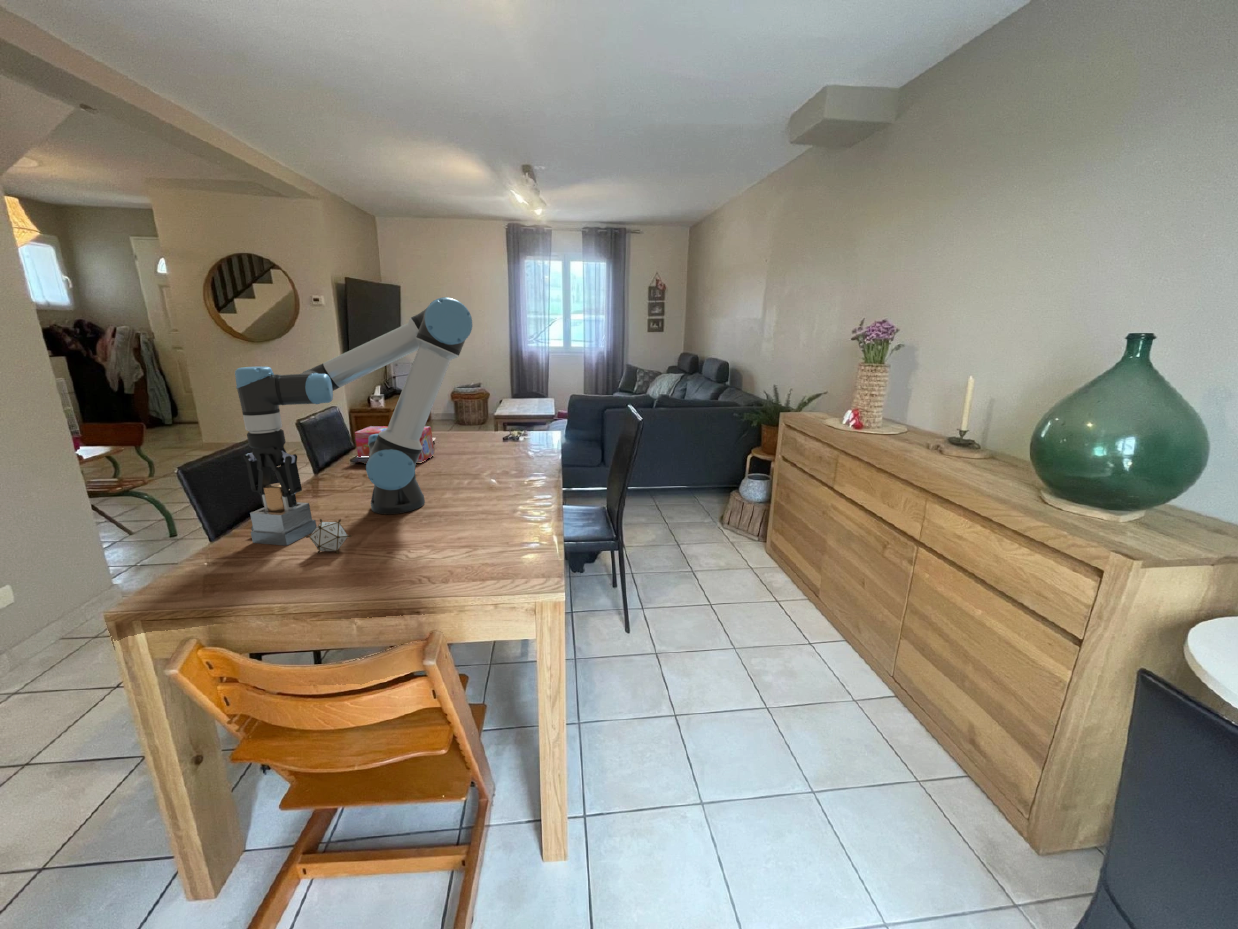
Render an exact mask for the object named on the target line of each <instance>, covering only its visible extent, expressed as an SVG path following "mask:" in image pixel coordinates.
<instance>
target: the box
mask: <svg viewBox="0 0 1238 929" xmlns="http://www.w3.org/2000/svg"><path fill="white" fill-rule="evenodd" d="M387 428H388V426H384V425H383V426H378V425H377V426H374V425H373V426H372V425H370V426H367V427H364V428H363V429H360V430H357V431H354V438H355V444H356V450H357V451H356V452H357V458H358V457H361V456H370V449H369V445H368V437H369V436H370V435H373V434H379V432H382V431H384V430H386V429H387ZM419 441H420V443H421V445H422V450H421V453H420V455H419V458H418V460H417V462H422V461H424V460H427V459H428V458H430V457H431V456H432V455H433V454H434V455H435V449H434V442H433V441H434V440H433V431H432V427H431V426H427V425H425V427H424V429H423V432H422V434H421V437H420V439H419ZM430 459H431V458H430ZM427 461H428V460H427Z"/></svg>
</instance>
